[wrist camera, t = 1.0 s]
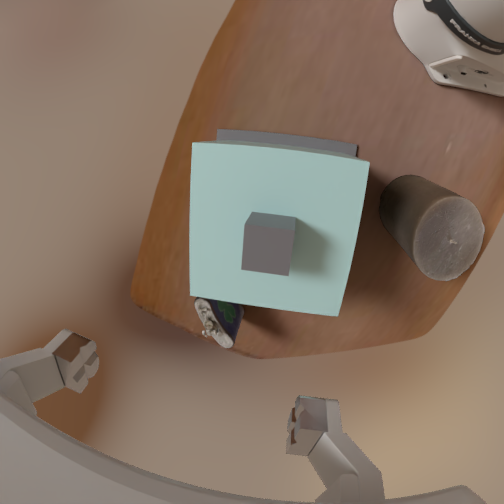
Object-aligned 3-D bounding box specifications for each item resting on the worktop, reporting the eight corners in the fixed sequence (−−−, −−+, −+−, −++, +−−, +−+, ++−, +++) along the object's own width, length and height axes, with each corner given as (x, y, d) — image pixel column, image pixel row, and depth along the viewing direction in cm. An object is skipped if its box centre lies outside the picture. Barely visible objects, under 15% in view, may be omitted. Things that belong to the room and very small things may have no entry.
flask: (247, 313, 48) (234, 355, 39) (232, 317, 49) (216, 359, 39) (220, 266, 46) (199, 302, 36) (205, 272, 47) (181, 308, 37)
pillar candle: (369, 189, 38) (405, 220, 24) (426, 165, 35) (482, 184, 21) (390, 248, 41) (426, 301, 27) (443, 224, 38) (494, 266, 24)
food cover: (345, 153, 36) (381, 166, 20) (327, 262, 43) (341, 339, 26) (227, 140, 38) (175, 144, 22) (221, 248, 44) (177, 315, 28)
